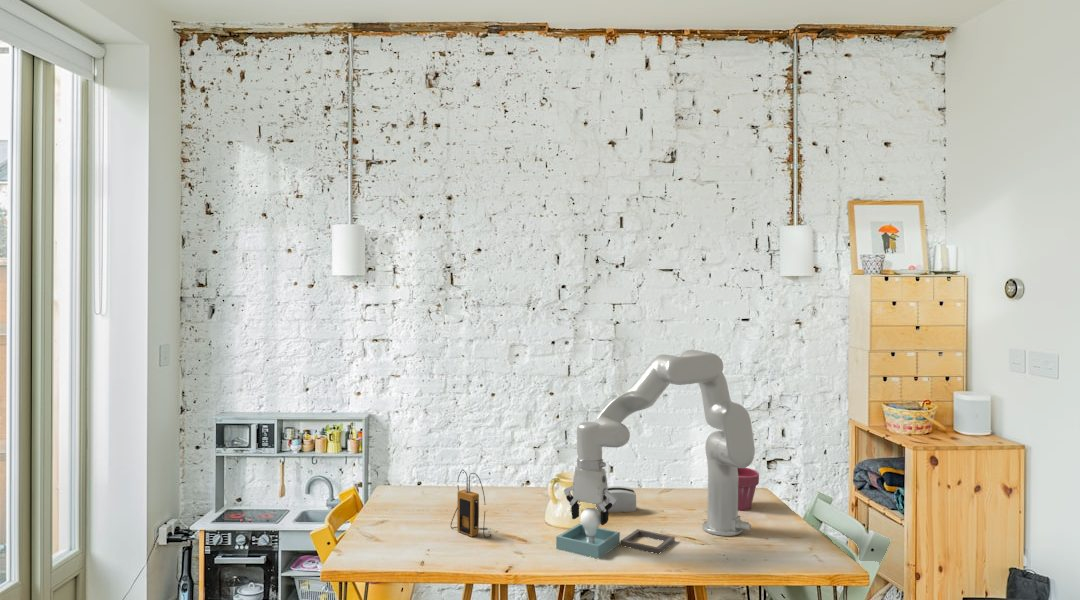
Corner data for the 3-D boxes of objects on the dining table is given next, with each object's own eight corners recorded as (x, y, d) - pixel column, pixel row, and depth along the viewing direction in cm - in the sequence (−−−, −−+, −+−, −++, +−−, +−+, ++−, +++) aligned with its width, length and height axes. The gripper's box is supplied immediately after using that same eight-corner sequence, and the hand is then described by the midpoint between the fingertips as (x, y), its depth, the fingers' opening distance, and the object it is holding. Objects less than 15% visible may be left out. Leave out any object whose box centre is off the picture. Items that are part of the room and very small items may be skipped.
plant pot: (766, 511, 247) (766, 475, 247) (729, 514, 244) (730, 477, 244) (745, 499, 261) (745, 465, 261) (710, 501, 258) (710, 466, 258)
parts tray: (619, 543, 215) (619, 532, 215) (598, 558, 203) (598, 546, 203) (579, 534, 222) (579, 523, 222) (556, 548, 210) (556, 536, 210)
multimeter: (503, 532, 224) (504, 469, 223) (480, 540, 216) (480, 475, 216) (472, 521, 234) (473, 461, 233) (449, 529, 226) (449, 466, 226)
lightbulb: (599, 549, 208) (600, 512, 208) (578, 547, 210) (578, 510, 210) (602, 541, 215) (602, 505, 214) (581, 540, 216) (582, 504, 216)
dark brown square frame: (674, 541, 217) (674, 536, 217) (658, 554, 207) (658, 549, 207) (637, 533, 224) (637, 529, 224) (620, 545, 213) (620, 540, 213)
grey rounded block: (632, 506, 252) (635, 482, 248) (636, 514, 248) (639, 490, 244) (586, 508, 249) (589, 484, 245) (589, 517, 245) (592, 492, 241)
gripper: (621, 465, 211) (621, 522, 211) (570, 457, 220) (570, 512, 220) (609, 470, 204) (610, 529, 205) (558, 463, 214) (558, 519, 214)
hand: (589, 520), depth 212 cm, fingers open, 9 cm apart
